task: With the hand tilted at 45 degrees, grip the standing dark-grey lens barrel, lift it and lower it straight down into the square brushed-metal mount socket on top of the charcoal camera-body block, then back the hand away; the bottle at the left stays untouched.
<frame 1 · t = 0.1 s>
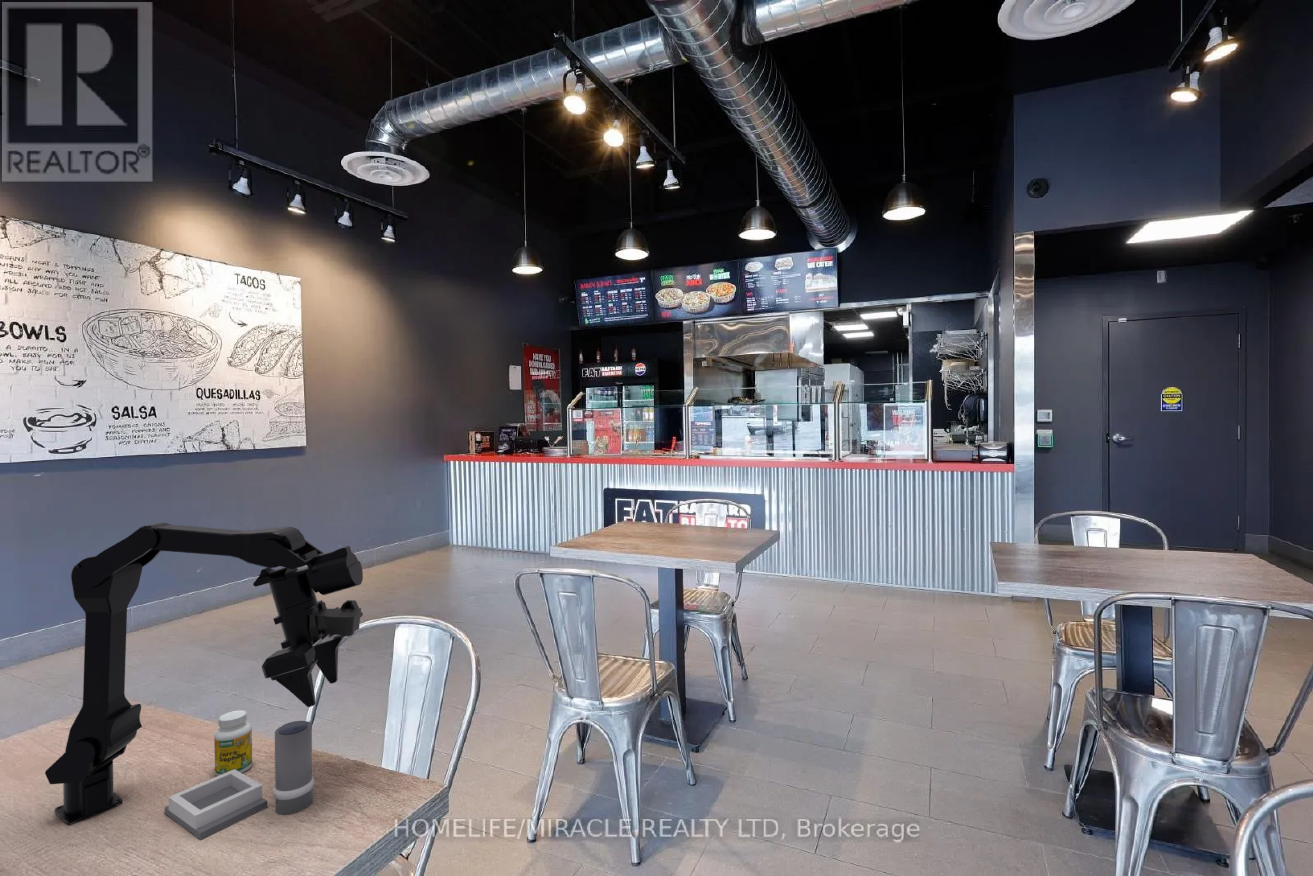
hand: (323, 693, 100), 15 cm above the table, tool pointing down, fingers open, 9 cm apart
supplement bottle: (233, 771, 106), on the table
lens: (294, 805, 95), on the table
camera body mount: (216, 810, 94), on the table
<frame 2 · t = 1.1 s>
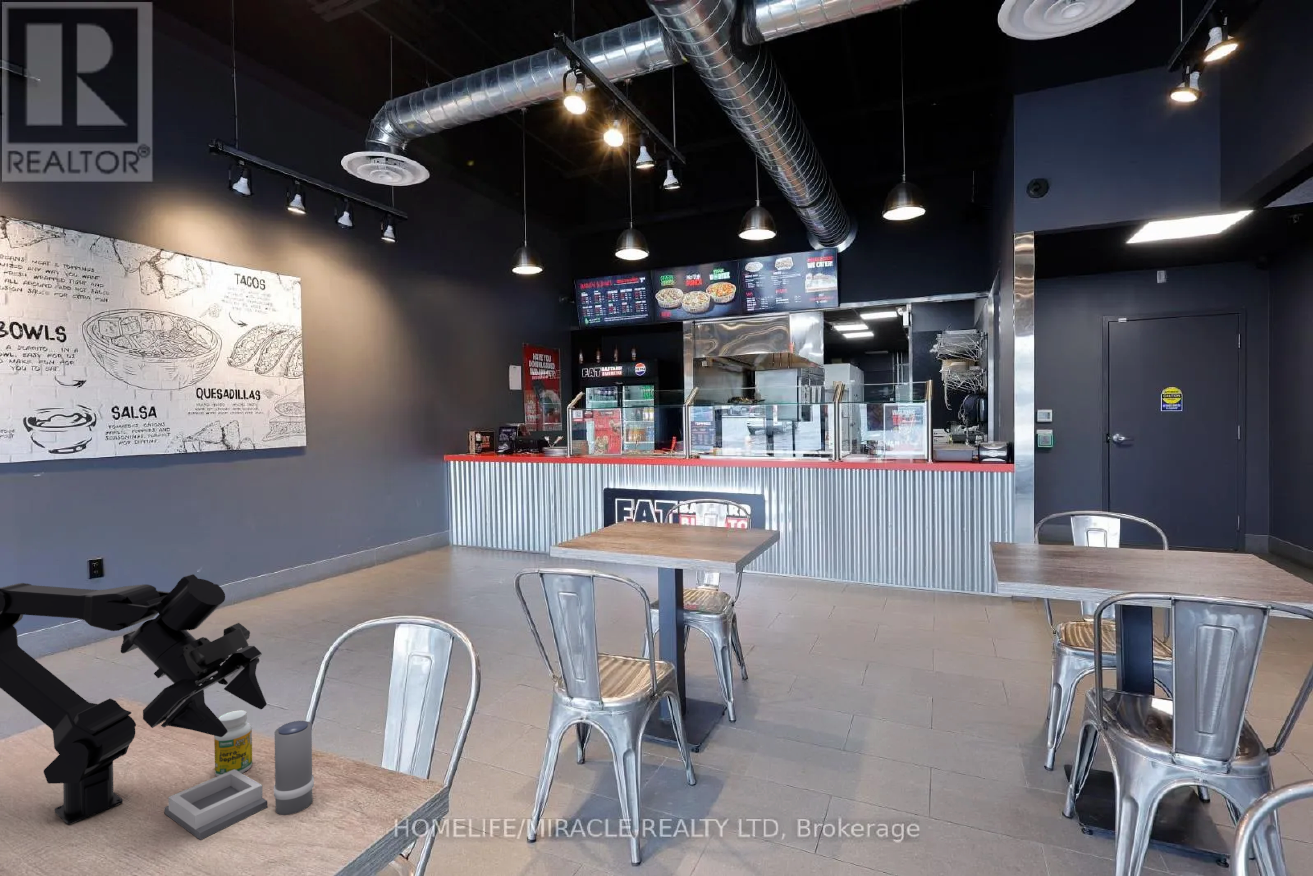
hand: (245, 720, 95), 13 cm above the table, tool tilted 45°, fingers open, 9 cm apart
nothing on the table moved.
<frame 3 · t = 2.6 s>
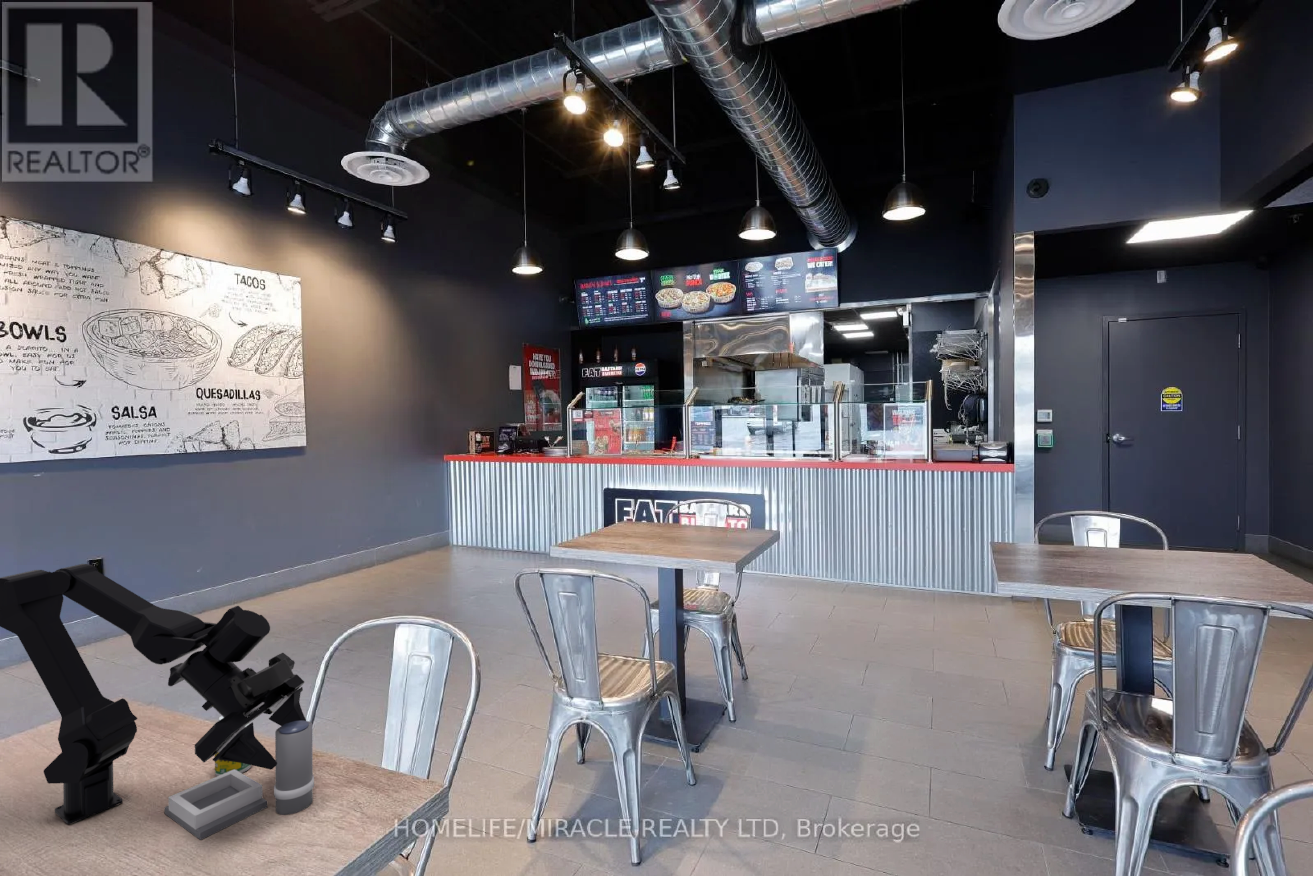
hand: (292, 751, 95), 8 cm above the table, tool tilted 45°, fingers open, 9 cm apart
nothing on the table moved.
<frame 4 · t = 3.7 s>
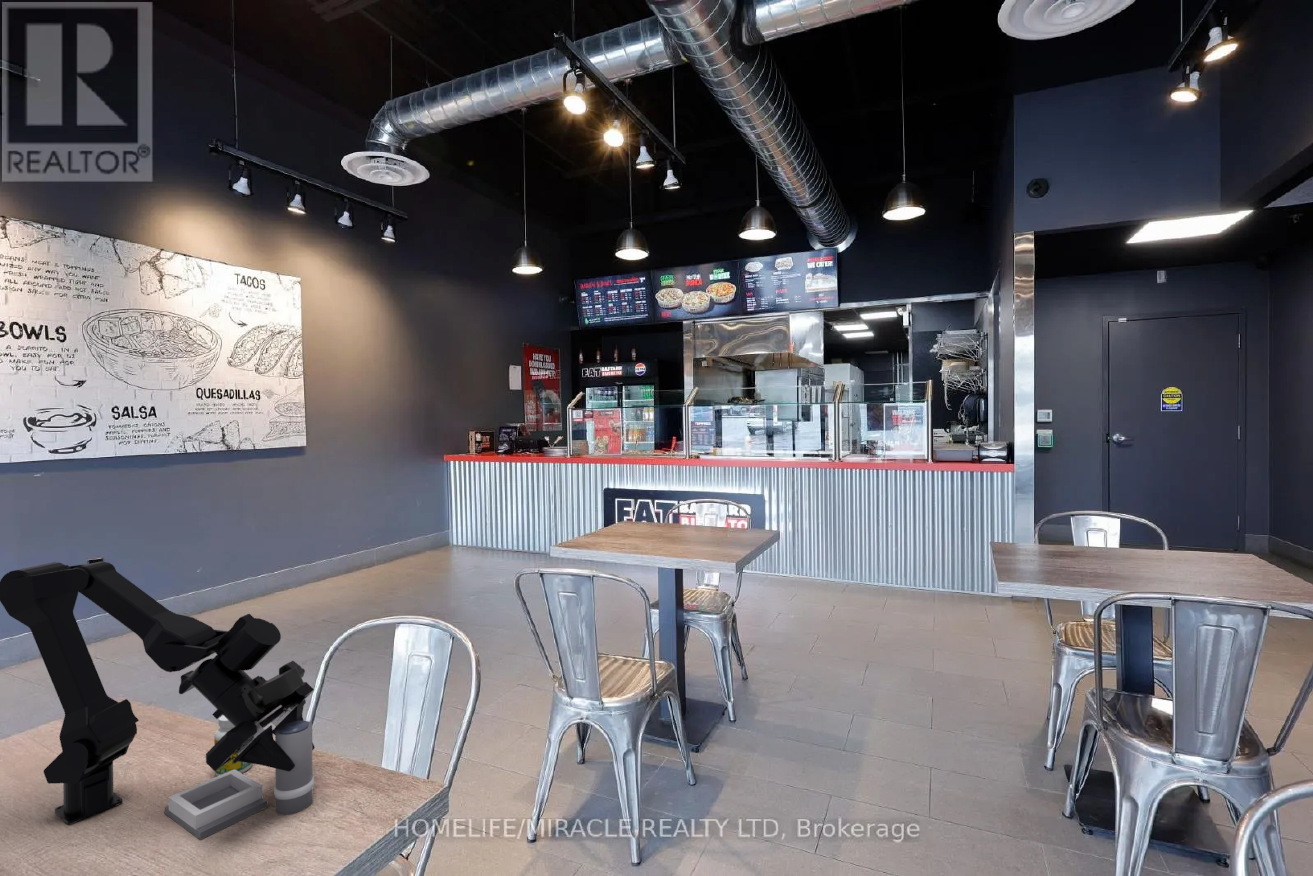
hand: (302, 759, 95), 7 cm above the table, tool tilted 45°, fingers closed on lens, 5 cm apart
lens: (294, 804, 95), on the table, touching gripper
everything else where it was.
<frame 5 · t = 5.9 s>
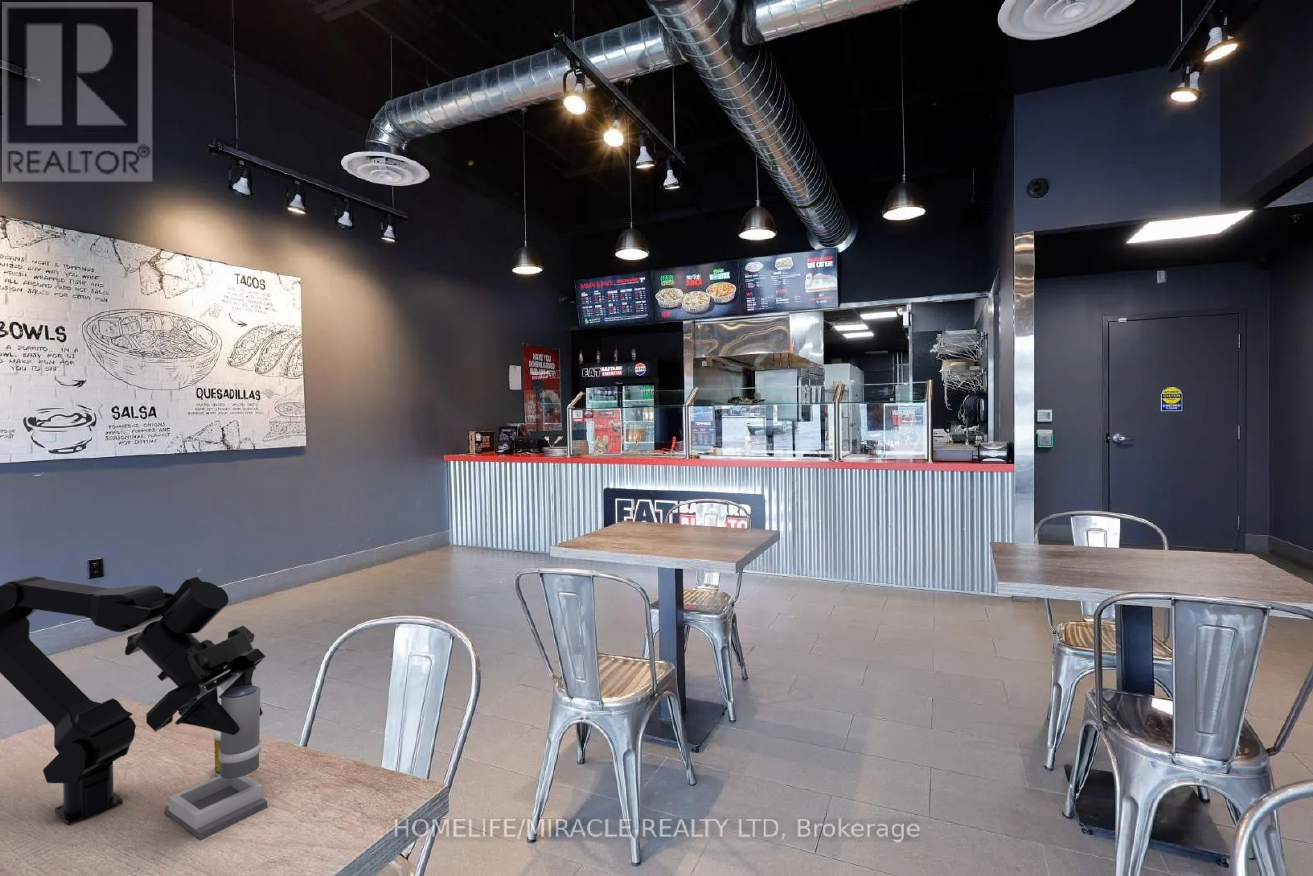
hand: (249, 724, 95), 13 cm above the table, tool tilted 45°, fingers closed on lens, 5 cm apart
lens: (239, 769, 95), point 6 cm above the table, touching gripper
everything else where it was.
when the fingers open (8 cm above the table, at t = 7.9 s): lens stays where it is, resting on camera body mount.
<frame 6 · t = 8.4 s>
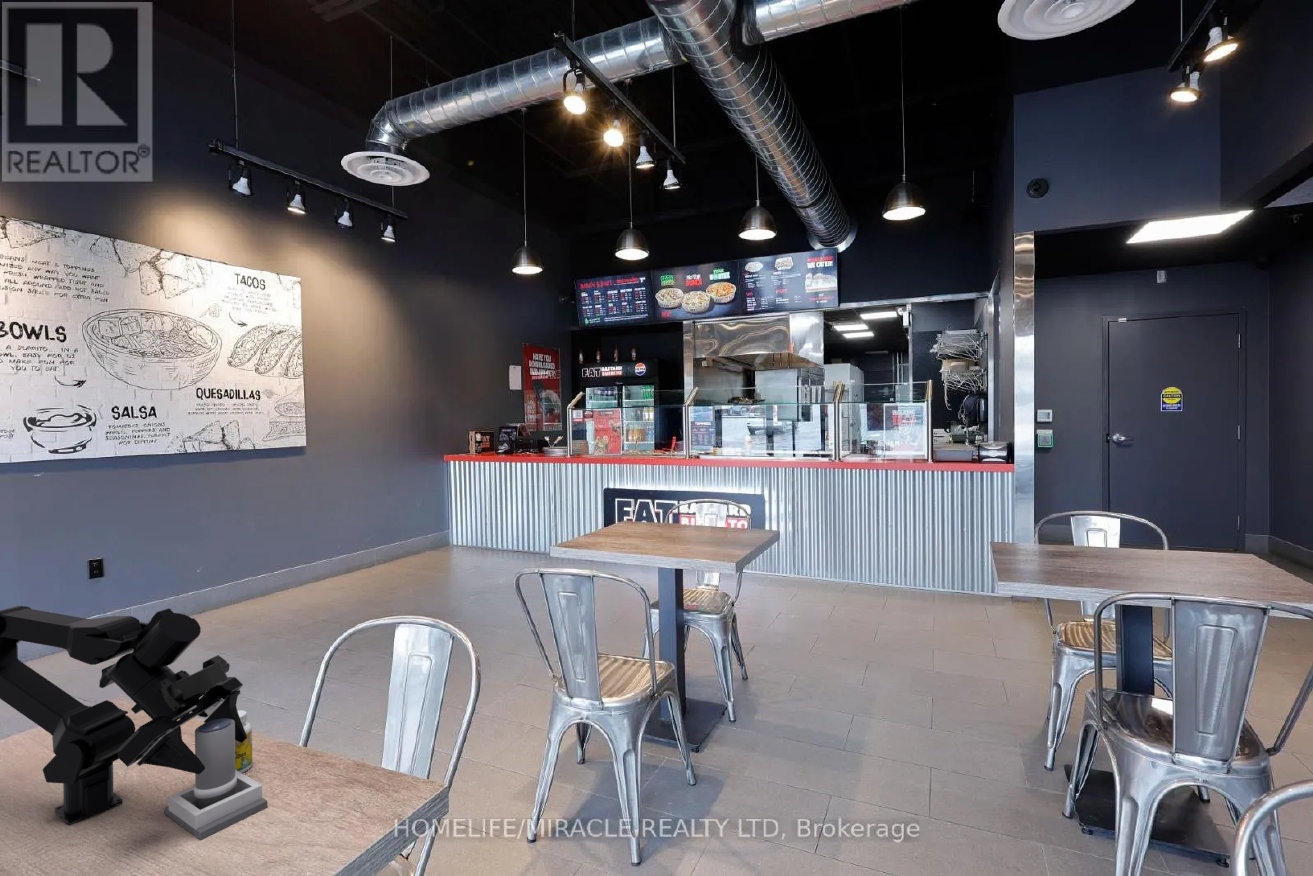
hand: (224, 755, 94), 9 cm above the table, tool tilted 45°, fingers open, 9 cm apart
lens: (215, 803, 94), point 1 cm above the table, touching camera body mount
everything else where it was.
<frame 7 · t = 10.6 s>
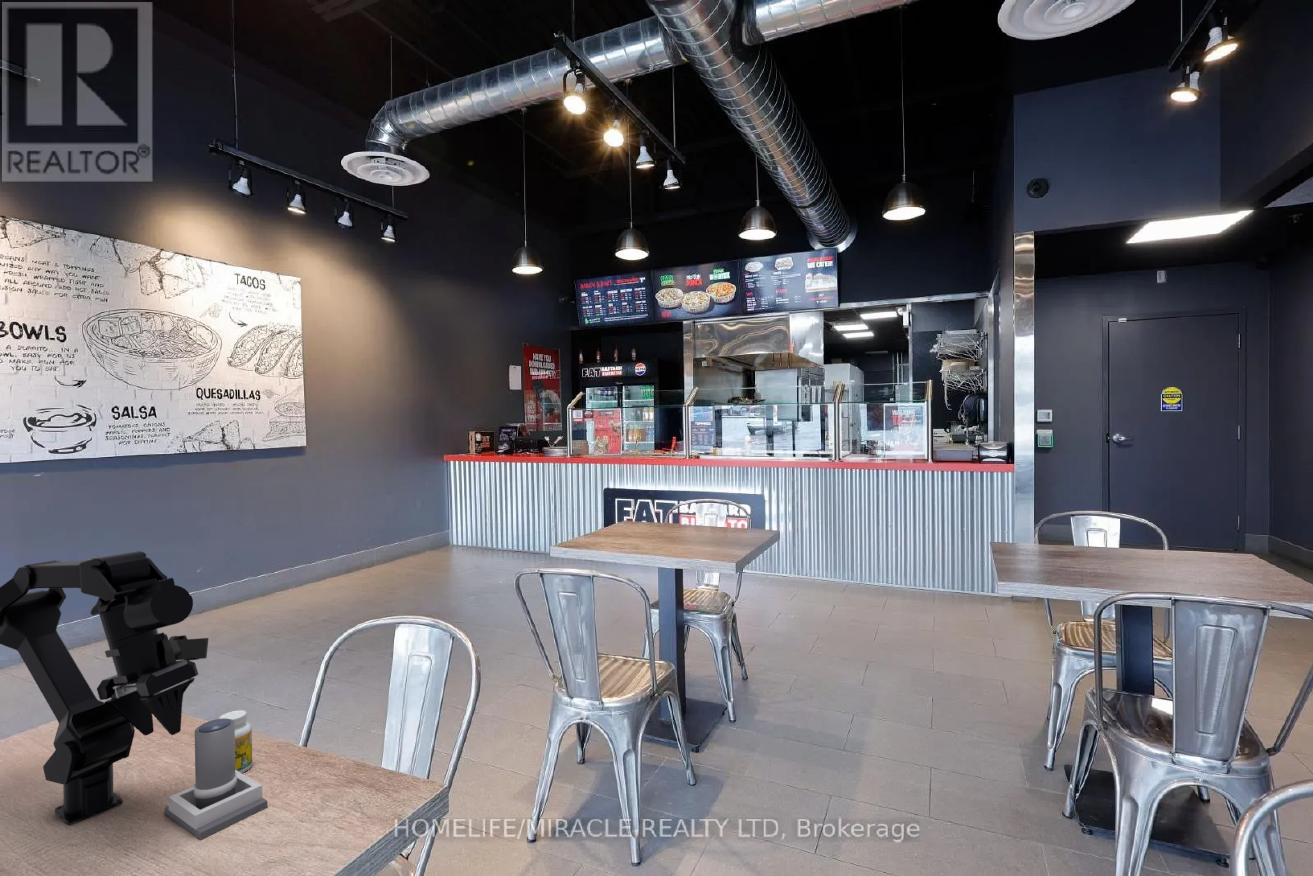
hand: (162, 733, 92), 13 cm above the table, tool tilted 15°, fingers open, 9 cm apart
nothing on the table moved.
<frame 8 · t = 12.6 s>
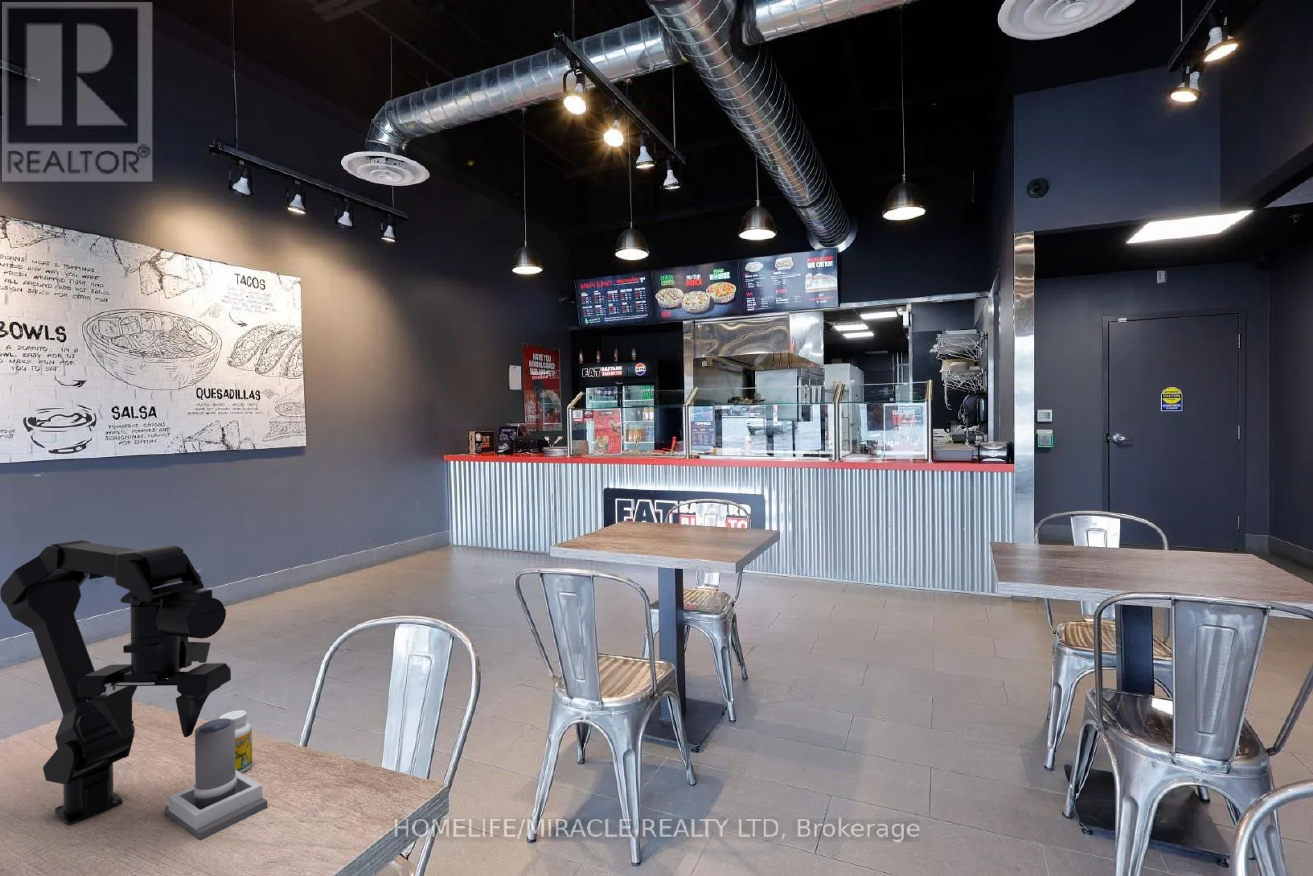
hand: (157, 736, 91), 13 cm above the table, tool pointing down, fingers open, 9 cm apart
nothing on the table moved.
at the end: lens 0.1 cm off-centre on the camera body mount, point 1.0 cm above the camera body mount's base; lens tilted 0°; the gripper is holding nothing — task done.
